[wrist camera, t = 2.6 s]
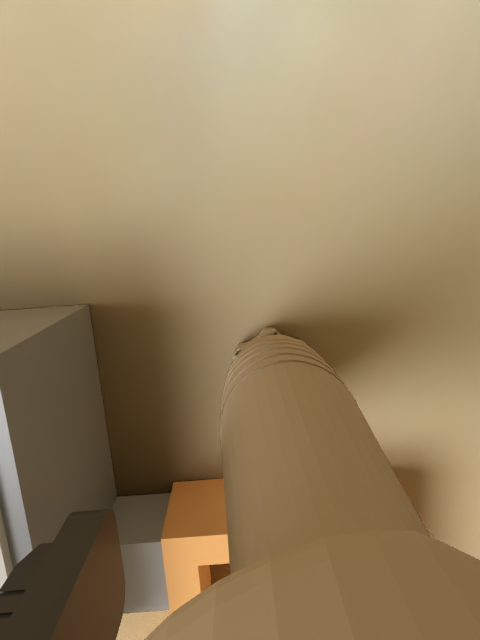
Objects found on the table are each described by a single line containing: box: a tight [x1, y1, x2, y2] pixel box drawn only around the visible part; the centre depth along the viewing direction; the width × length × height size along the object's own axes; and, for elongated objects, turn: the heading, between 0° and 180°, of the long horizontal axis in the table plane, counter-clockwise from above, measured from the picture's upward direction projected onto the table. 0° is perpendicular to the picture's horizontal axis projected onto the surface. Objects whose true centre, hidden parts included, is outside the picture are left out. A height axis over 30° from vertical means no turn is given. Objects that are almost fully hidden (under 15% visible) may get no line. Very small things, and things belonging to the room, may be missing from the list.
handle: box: [144, 327, 480, 640], centre depth 10 cm, size 5×6×15 cm
